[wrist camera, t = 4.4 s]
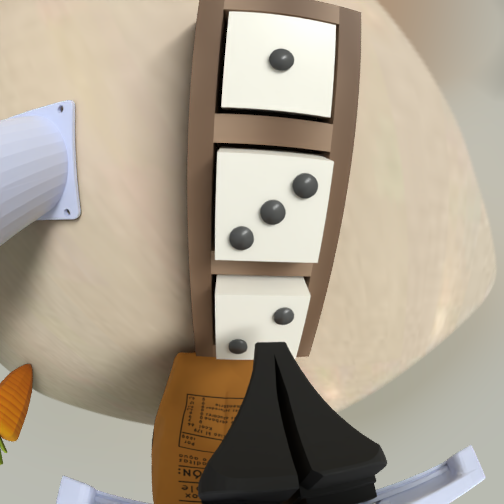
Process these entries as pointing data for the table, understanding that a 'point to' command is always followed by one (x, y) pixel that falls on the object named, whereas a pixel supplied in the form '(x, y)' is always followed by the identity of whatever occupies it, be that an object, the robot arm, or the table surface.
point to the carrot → (14, 403)
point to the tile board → (264, 133)
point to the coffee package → (194, 422)
